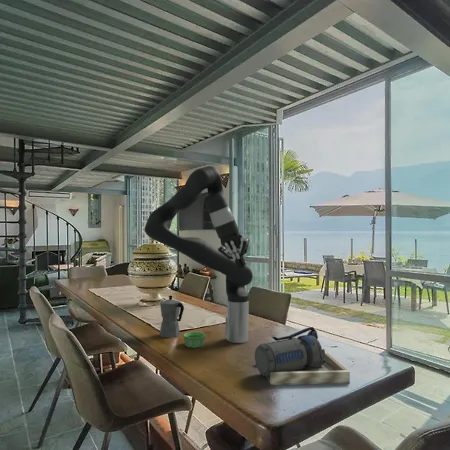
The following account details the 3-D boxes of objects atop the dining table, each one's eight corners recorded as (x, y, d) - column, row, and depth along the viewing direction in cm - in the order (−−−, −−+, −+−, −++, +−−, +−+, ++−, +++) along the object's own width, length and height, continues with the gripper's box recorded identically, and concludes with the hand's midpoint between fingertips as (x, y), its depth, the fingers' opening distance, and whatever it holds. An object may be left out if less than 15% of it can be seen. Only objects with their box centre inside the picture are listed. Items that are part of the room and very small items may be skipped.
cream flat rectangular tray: (270, 385, 106) (271, 373, 106) (258, 363, 124) (258, 353, 124) (349, 383, 109) (349, 371, 109) (326, 361, 127) (326, 352, 127)
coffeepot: (152, 334, 158) (153, 294, 159) (168, 330, 165) (169, 292, 166) (174, 341, 148) (175, 299, 149) (190, 337, 155) (191, 296, 156)
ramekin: (188, 341, 150) (188, 330, 150) (208, 343, 147) (208, 332, 147) (179, 347, 141) (180, 336, 141) (200, 349, 139) (200, 338, 139)
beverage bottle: (249, 337, 118) (307, 327, 129) (256, 379, 114) (314, 365, 125) (265, 336, 109) (325, 325, 120) (273, 381, 105) (334, 365, 117)
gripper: (203, 230, 120) (222, 275, 121) (233, 219, 112) (253, 268, 114) (215, 224, 126) (233, 267, 127) (244, 213, 118) (263, 260, 120)
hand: (242, 268), depth 121 cm, fingers closed
